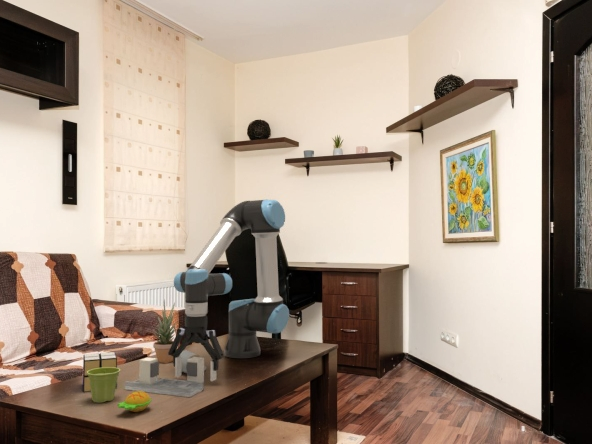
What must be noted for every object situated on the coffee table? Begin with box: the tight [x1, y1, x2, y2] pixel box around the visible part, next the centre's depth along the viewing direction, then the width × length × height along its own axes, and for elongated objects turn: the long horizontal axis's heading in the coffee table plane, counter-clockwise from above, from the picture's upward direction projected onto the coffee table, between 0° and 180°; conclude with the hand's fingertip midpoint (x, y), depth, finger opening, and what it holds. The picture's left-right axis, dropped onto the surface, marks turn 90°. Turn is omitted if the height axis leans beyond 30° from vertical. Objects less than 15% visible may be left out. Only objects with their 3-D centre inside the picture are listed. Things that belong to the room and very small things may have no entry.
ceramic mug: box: [180, 349, 207, 374], centre depth 184 cm, size 11×8×8 cm
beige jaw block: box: [186, 356, 205, 383], centre depth 170 cm, size 4×5×8 cm
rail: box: [124, 377, 204, 398], centre depth 161 cm, size 8×24×2 cm, turn 70°
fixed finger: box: [138, 357, 160, 384], centre depth 163 cm, size 4×5×8 cm
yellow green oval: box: [116, 391, 152, 413], centre depth 140 cm, size 7×10×5 cm
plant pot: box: [87, 367, 121, 403], centre depth 151 cm, size 9×9×9 cm
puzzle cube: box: [82, 351, 118, 393], centre depth 165 cm, size 10×10×10 cm
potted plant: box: [152, 298, 178, 364], centre depth 202 cm, size 10×10×25 cm
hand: (195, 378), depth 170 cm, fingers open, 13 cm apart
